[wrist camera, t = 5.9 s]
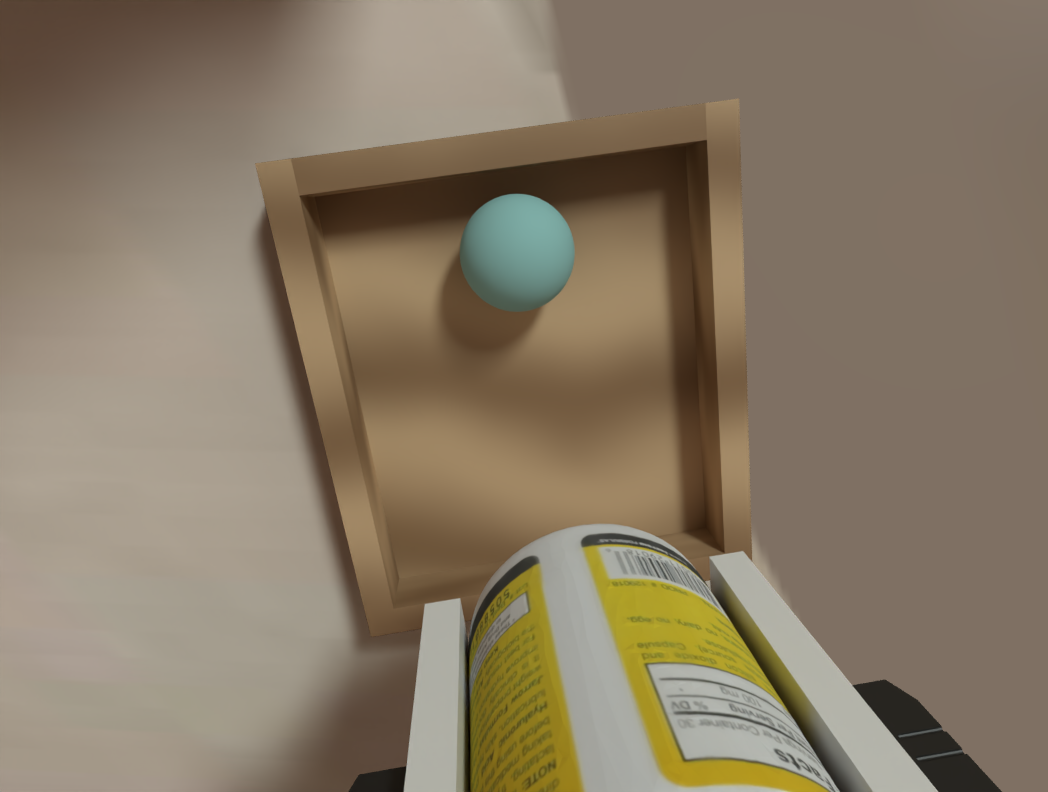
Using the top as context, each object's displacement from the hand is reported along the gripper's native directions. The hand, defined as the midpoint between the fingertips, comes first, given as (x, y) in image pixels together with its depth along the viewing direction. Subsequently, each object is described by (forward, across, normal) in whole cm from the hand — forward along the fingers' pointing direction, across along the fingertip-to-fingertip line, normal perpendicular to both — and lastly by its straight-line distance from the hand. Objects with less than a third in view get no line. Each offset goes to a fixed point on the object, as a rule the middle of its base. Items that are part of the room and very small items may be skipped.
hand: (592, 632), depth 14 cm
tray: (+10, 0, +3) cm, 11 cm away
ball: (+10, 0, +8) cm, 12 cm away
